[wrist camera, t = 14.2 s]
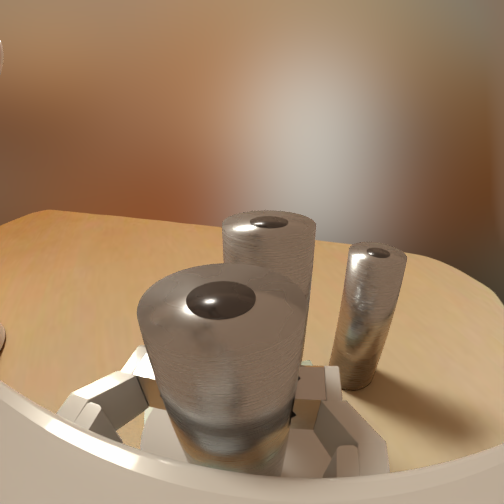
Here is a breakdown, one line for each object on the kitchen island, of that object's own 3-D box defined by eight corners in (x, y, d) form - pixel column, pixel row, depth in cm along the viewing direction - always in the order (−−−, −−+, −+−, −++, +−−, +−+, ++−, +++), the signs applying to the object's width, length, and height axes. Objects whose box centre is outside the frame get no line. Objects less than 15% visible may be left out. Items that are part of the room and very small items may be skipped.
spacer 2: (238, 422, 16) (228, 241, 11) (228, 375, 20) (217, 212, 15) (305, 409, 17) (332, 233, 12) (286, 366, 21) (297, 208, 16)
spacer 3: (339, 395, 22) (370, 268, 17) (320, 362, 26) (338, 243, 21) (380, 381, 22) (418, 261, 18) (359, 352, 26) (384, 239, 22)
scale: (166, 583, 6) (147, 582, 5) (155, 402, 21) (145, 374, 19) (382, 540, 9) (405, 529, 7) (305, 383, 23) (310, 354, 22)
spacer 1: (204, 515, 10) (124, 362, 5) (195, 451, 14) (147, 268, 9) (288, 502, 10) (336, 337, 6) (269, 442, 14) (279, 256, 10)
